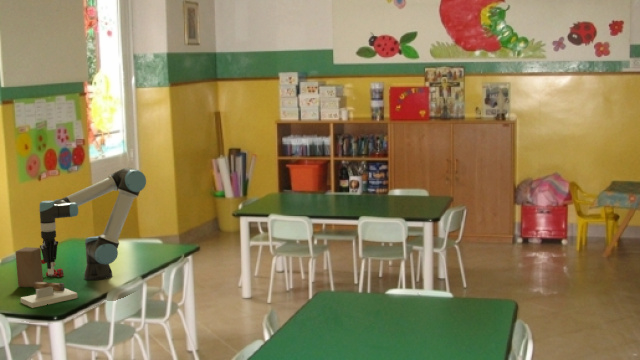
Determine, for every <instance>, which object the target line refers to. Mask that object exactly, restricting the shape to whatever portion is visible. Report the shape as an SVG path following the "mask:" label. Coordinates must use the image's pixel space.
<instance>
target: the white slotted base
mask: <svg viewBox="0 0 640 360" xmlns="http://www.w3.org/2000/svg"><path fill="white" fill-rule="evenodd" d="M78 298H79V296H78V292H75V291H73V290H70V289H68V288H65V290H61V291H58V290H53V287H46V288H41V289H35V294H31V295H28V296H27V295H26V296H22V297H20V303H21V304H23V305H25V306H28V307H30V308H32V309H34V308H38V307H43V306H46V305H47V304H48V305H52V304H56V303H60V302H64V301H70V300H74V299H78Z"/></svg>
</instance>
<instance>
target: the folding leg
mask: <svg viewBox="0 0 640 360" xmlns="http://www.w3.org/2000/svg"><path fill="white" fill-rule="evenodd" d="M46 287H53V291H55V290H58V291H61V290H65V283H63V282H60V283H59V282H45V281H43V282H36V283H34V287H33V288H34V289H35V290H36V289H41V288H46Z"/></svg>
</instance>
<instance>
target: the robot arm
mask: <svg viewBox="0 0 640 360" xmlns="http://www.w3.org/2000/svg"><path fill="white" fill-rule="evenodd" d="M146 185H147V178H146V175H145V174H144V173H143V172H142V171H140V170H139V169H136V168H131V167H125V168H121V169H119V170H117V171H115V172H113V173H111V174H109V175H108V176H107V178H105V179H102V180H100V181H98V182H95V183H94V184H91V185H89V186H87V187H84V188H83V189H80V190H78V191H76V192H73V193H72V194H69V195H67V196H65V197H63V198H58V199H57V198H56V199H54V200H42V201H40V202H39V210H38V211H39V221H40V238H41V239H42V245H39V248H40V249H41V256H42V260H44V262H46V263H45V264H46V268H47V272H48V275H53V274H54V269H55V268H54V267H55V266H54V262H55V263H56V260H57V253H58V245H59V241H57V240H56V238H57V230H56V228H57V223H56V219H62V218H63V219H64V218H73V217H77V216H78V215H79V207H80V206H82V205H84V204H87V203H89V202H90V201H93V200H95V199H97V198H99V197H102V196H104V195H106V194H108V193H111V192H112V191H115V192H117V191H118V195H117V197H116V200H115V203H114V205H113V207H112V210H111V211H110V215H109V218H108V220H107V223H106V225H105V228H104V230H103V232H102V233H101V234H100V235H97V236H89V237H86V238H85V241H84V245H85V257H86V266H85V270H84V274H83V275H84V276H83V277H84V280H88V281H99V280H101V281H102V280H107V279H109V278H112V277H113V270H112V269H111V265H110V264H112V263H114V262H116V260H117V258H118V255H119V253H118V248H119V245H120V242H119V238H120V236H121V233H122V230H123V227H124V225H125V222H126V220H127V217H128V215H129V212H130V211H131V207H132V205H133V202H134V200H135V198H138V197H139V196H140V192H141V191H143V190H144V189H145V188H146Z"/></svg>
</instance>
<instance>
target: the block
mask: <svg viewBox="0 0 640 360" xmlns="http://www.w3.org/2000/svg"><path fill="white" fill-rule="evenodd" d="M15 260H16V261H15V262H16V274H17V286H18V287H19V288H34V283H36V282H44V277H43V276H44V275H43V264H42V261H41V260H42V251H41V248H40V247H27V246H26V247H23V248H20V249H19V250H16V251H15Z"/></svg>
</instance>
